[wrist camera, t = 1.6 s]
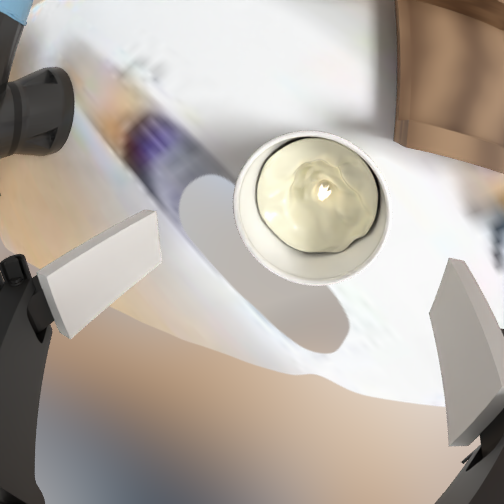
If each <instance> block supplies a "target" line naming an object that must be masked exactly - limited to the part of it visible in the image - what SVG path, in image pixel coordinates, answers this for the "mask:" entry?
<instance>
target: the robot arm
mask: <svg viewBox="0 0 504 504" xmlns="http://www.w3.org/2000/svg"><path fill="white" fill-rule="evenodd" d="M32 3H33V0H0V159H1V158H4V157H7V156H10V155H13V154H22V155H34V156H45V155H48V154H52V153H55V152H57V151H58V150H60V149H61V148H62V146H63V145H64V143H65V142H66V140H67V138H68V135H69V132H70V129H71V126H72V121H73V114H74V94H73V88H72V84H71V81H70V78H69V76H68V74H67V73H66V72H65V71H64V70H63V69H61V68H59V67H49V68H43V69H40V70H38V71H35V72H33V73H31V74H29V75H27V76H25V77H22V78H20V79H18V80H16V81H13V82H8V78H9V74H10V70H11V66H12V63H13V59H14V56H15V52H16V49H17V46H18V43H19V40H20V37H21V34H22V31H23V28H24V26H26V24H27V22H26V20H27V17H28V14H29V12H30V9H31V6H32ZM160 263H162V255H161V248H160V239H159V231H158V222H157V212H156V211H151V210H143V211H141V212H139V213H137V214H135V215H133V216H131V217H129V218H128V219H126V220H124V221H122V222H120V223H118V224H116V225H115V226H113V227H111V228H109V229H107V230H105V231H104V232H102V233H100V234H98V235H97V236H95V237H93V238H91V239H90V240H88V241H86V242H84V243H83V244H81V245H79V246H78V247H76V248H74V249H72V250H71V251H69V252H67V253H66V254H64V255H63V256H61V257H59V258H58V259H56V260H54V261H53V262H51V263H50V264H48V265H46V266H45V267H43V268H42V269H40V270H39V271H37V275H36V276H35V277H33V278H32V277H31V274H30V271H29V268H28V265H27V262H26V258H25V256H24V255H22V254H16V255H13V256H10V257H8V258H6V259H4V260H3V261H1V263H0V271H1V272H0V504H45V501H44V497H43V495H42V492H41V491H40V489H39V487H38V486H37V484H36V481H35V475H34V474H35V473H34V472H35V439H36V426H37V416H38V407H39V399H40V392H41V385H42V380H43V374H44V368H45V363H46V358H47V353H48V348H49V344H50V340H51V336H52V328H51V325H50V324H51V323H52V322H53V321H55V323H56V325H57V328H58V330H59V332H60V333H61V334H63V335H64V336H66V337H68V338H70V339H71V338H73V337H74V336H75V335H76V334H77V333H78V332H79V331H80V330H82V329H83V328H84V327H85V326H86V325H87V324H88V323H90V322H91V321H92V320H93V319H94V318H95V317H97V315H99V314H100V313H101V312H102V311H103V310H105V309H106V308H107V307H108V306H109V305H111V304H112V303H113V302H114V301H115V300H116V299H118V298H119V297H120V296H121V295H122V294H124V293H125V292H126V291H127V290H128V289H130V288H131V287H132V286H133V285H135V284H136V283H137V282H138V281H139V280H141V279H142V278H143V277H144V276H146V275H147V274H148V273H149V272H150V271H152V270H153V269H154V268H155V267H157V266H158V265H159V264H160ZM1 274H2V275H1ZM2 276H3V278H2ZM3 279H4V280H3ZM429 315H430V319H431V324H432V328H433V332H434V337H435V342H436V347H437V352H438V357H439V363H440V368H441V375H442V381H443V388H444V396H445V404H446V411H447V412H446V414H447V424H448V440H449V446H468V445H470V444H471V443H472V442H473V441H474V440H475V439H476V438H477V437H478V436H479V435H480V440H481V445H480V446H479V447H478V448H477V449H475V450H474V451H473V452H472V453H471V454H470V455H468V456H467V457H466V458H465V459H464V460H463V461H462V463H463V464H464V463H465V462H466V461H467V460H468V461H467V463H466V464H465V466H464V467H463V469H462V470H461V471H460V473H459V474H458V475H457V477H456V478H455V479H454V481H453V482H452V483H451V484H450V486H449V487H448V488H447V490H446V491H445V492H444V493H443V494H442V496H441V497H440V498H439V499H438V500H437V502H436V503H435V504H504V329H500V327H499V325H498V323H497V321H496V318H495V316H494V314H493V312H492V310H491V308H490V306H489V304H488V302H487V300H486V298H485V297H484V295H483V293H482V291H481V289H480V287H479V285H478V284H477V282H476V280H475V278H474V277H473V275H472V273H471V271H470V270H469V268H468V266H467V265H466V263H465V261H462V260H457V259H452V258H449V259H448V263H447V266H446V269H445V272H444V275H443V278H442V281H441V283H440V286H439V289H438V292H437V294H436V297H435V300H434V302H433V305H432V307H431V310H430V312H429Z"/></svg>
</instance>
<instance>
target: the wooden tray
mask: <svg viewBox="0 0 504 504" xmlns="http://www.w3.org/2000/svg"><path fill="white" fill-rule="evenodd" d="M394 1H395V13H396V29H397V99H396V117H395V130H394V141H395V142H397V143H399V144H401V145H403V146H405V147H407V148H412V149H416V150H421V151H425V152H430V153H434V154H438V155H442V156H446V157H450V158H453V159H457V160H461V161H464V162H468V163H471V164H475V165H478V166H481V167H484V168H488V169H491V170H494V171H497V172H500V173H503V174H504V0H394Z"/></svg>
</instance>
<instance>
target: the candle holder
mask: <svg viewBox="0 0 504 504" xmlns="http://www.w3.org/2000/svg"><path fill="white" fill-rule="evenodd" d="M233 213H234V219H235V223H236V227H237V230H238V232H239V235H240V237H241V239H242V241H243V243H244V244H245V246H246V248H247V249H248V250H249V252H250V253H251V254H252V255H253V257H254V258H255V259H256V260H257V261H258V262H259V263H260V264H262V265H263V266H264V267H265V268H266V269H268V270H269V271H271V272H272V273H274V274H276V275H277V276H279V277H281V278H284V279H286V280H289V281H291V282H295V283H299V284H304V285H314V286H320V285H330V284H335V283H339V282H342V281H345V280H348V279H350V278H352V277H354V276H356V275H357V274H359V273H360V272H362V271H363V270H364V269H366V268H367V267H368V266H369V265H370V264H371V263H372V262H373V261H374V260H375V259H376V257H377V256H378V255H379V253H380V252H381V250H382V248H383V247H384V245H385V242H386V240H387V238H388V235H389V231H390V227H391V220H392V205H391V198H390V194H389V190H388V187H387V184H386V182H385V179H384V177H383V175H382V174H381V172H380V170H379V169H378V167H377V166H376V164H375V163H374V162H373V161H372V159H371V158H370V157H369V156H368V155H367V154H366V153H365V152H363V151H362V150H361V149H360V148H359V147H357V146H356V145H354V144H353V143H351V142H349V141H348V140H346V139H344V138H341V137H339V136H336V135H333V134H330V133H326V132H320V131H297V132H291V133H287V134H284V135H281V136H278V137H276V138H274V139H272V140H270V141H268V142H267V143H265V144H264V145H262V146H261V147H260V148H258V149H257V150H256V151H255V152H254V153H253V154H252V155H251V156H250V158H249V159H248V160H247V161H246V163H245V164H244V166H243V168H242V169H241V171H240V173H239V176H238V178H237V181H236V184H235V189H234V195H233Z"/></svg>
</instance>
